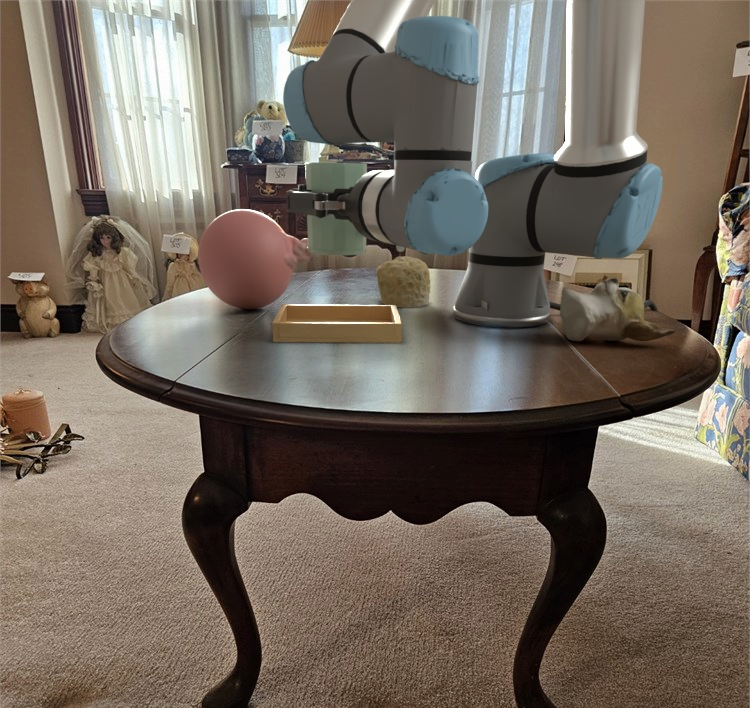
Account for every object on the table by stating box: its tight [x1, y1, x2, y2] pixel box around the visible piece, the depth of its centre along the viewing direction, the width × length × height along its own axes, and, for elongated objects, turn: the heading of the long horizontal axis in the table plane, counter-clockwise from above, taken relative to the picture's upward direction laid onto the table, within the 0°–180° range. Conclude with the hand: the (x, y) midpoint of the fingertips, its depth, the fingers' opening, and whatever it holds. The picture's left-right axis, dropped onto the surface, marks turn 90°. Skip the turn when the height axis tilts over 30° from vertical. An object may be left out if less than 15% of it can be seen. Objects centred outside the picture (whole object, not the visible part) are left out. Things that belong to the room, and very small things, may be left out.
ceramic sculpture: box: [559, 277, 676, 342], centre depth 91 cm, size 11×9×15 cm
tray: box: [271, 304, 403, 344], centre depth 95 cm, size 18×14×3 cm
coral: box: [376, 255, 431, 309], centre depth 115 cm, size 9×9×8 cm
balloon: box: [197, 208, 316, 310], centre depth 107 cm, size 15×20×15 cm
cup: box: [304, 162, 368, 256], centre depth 88 cm, size 8×8×11 cm
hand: (325, 199), depth 92 cm, fingers closed on cup, 8 cm apart
